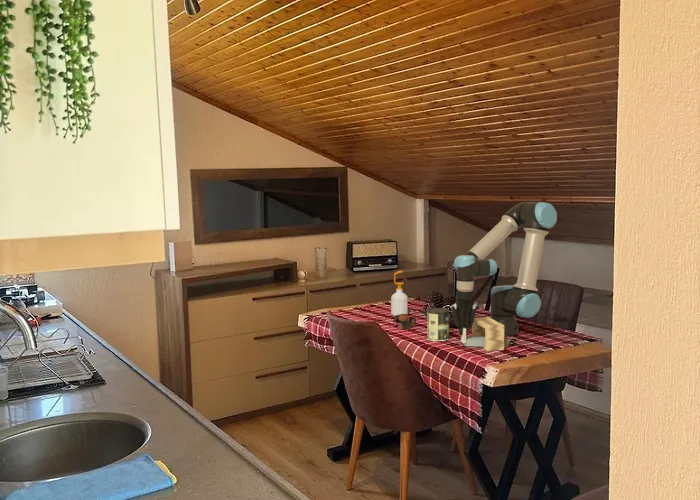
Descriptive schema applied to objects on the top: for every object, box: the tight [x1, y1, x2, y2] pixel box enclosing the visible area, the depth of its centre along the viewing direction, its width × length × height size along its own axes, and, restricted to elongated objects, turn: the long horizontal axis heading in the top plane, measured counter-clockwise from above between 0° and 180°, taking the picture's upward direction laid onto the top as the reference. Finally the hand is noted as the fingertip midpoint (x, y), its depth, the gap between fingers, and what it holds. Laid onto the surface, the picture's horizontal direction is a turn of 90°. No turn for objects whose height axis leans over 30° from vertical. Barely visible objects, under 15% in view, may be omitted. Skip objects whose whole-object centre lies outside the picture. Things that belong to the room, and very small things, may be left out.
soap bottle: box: [390, 270, 409, 316], centre depth 371 cm, size 9×9×25 cm
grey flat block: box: [462, 335, 485, 348], centre depth 304 cm, size 14×7×3 cm, turn 88°
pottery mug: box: [392, 314, 417, 330], centre depth 341 cm, size 12×10×8 cm
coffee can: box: [426, 307, 450, 342], centre depth 316 cm, size 10×10×14 cm
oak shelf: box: [471, 316, 510, 352], centre depth 304 cm, size 12×18×11 cm, turn 11°
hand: (463, 342), depth 301 cm, fingers closed
